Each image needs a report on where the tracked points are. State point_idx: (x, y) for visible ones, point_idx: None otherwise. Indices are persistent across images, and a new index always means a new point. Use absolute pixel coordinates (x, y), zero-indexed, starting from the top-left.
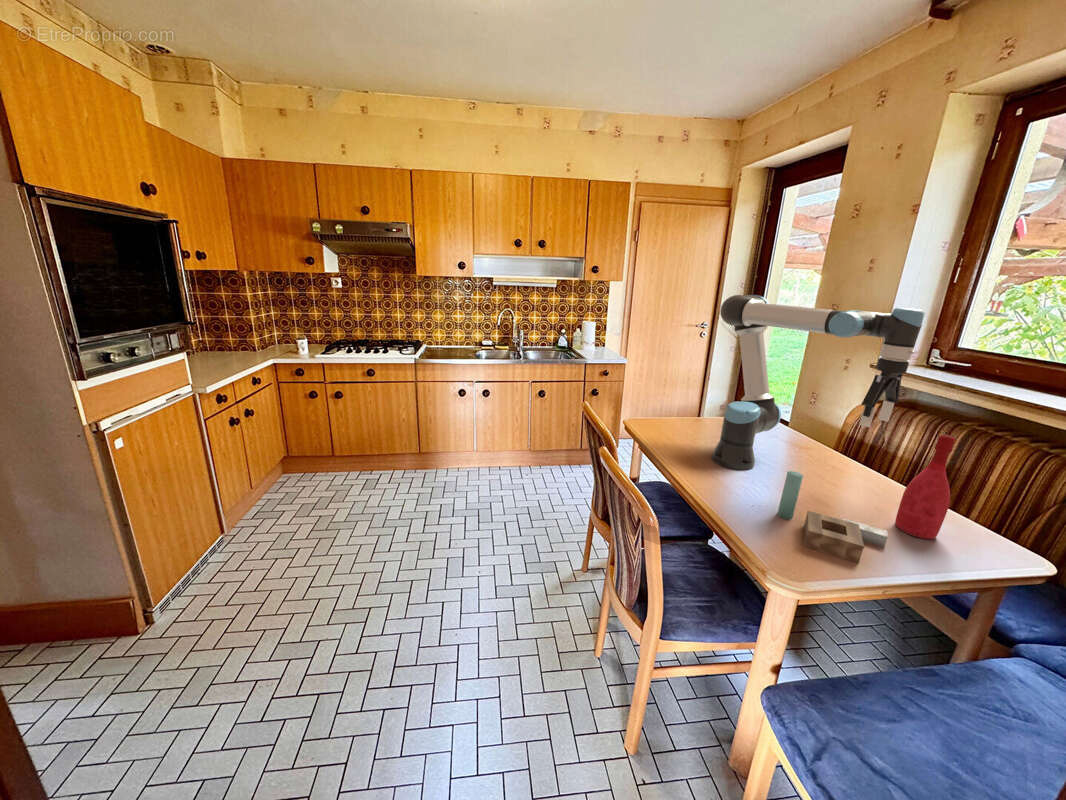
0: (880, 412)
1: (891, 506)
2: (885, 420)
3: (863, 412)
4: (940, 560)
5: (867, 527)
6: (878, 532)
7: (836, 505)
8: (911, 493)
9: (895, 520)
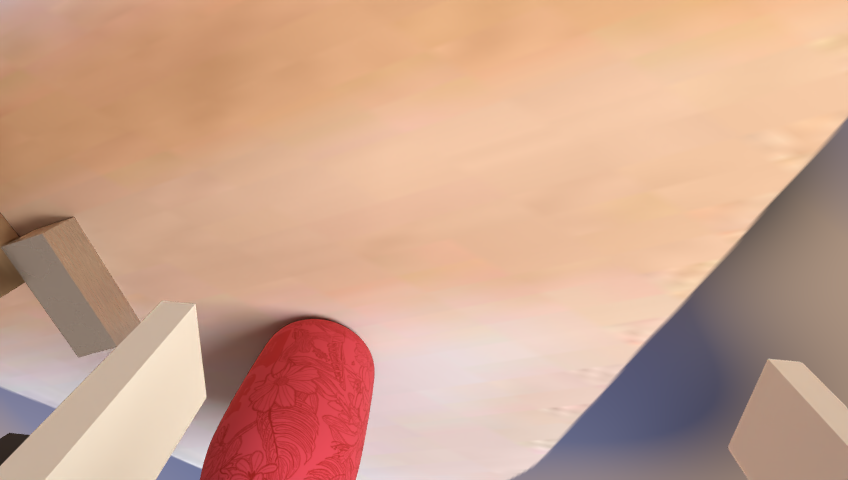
0: (844, 446)
1: (465, 272)
2: (740, 436)
3: (23, 456)
4: (198, 428)
5: (70, 304)
6: (76, 333)
7: (248, 139)
8: (211, 443)
9: (296, 324)
